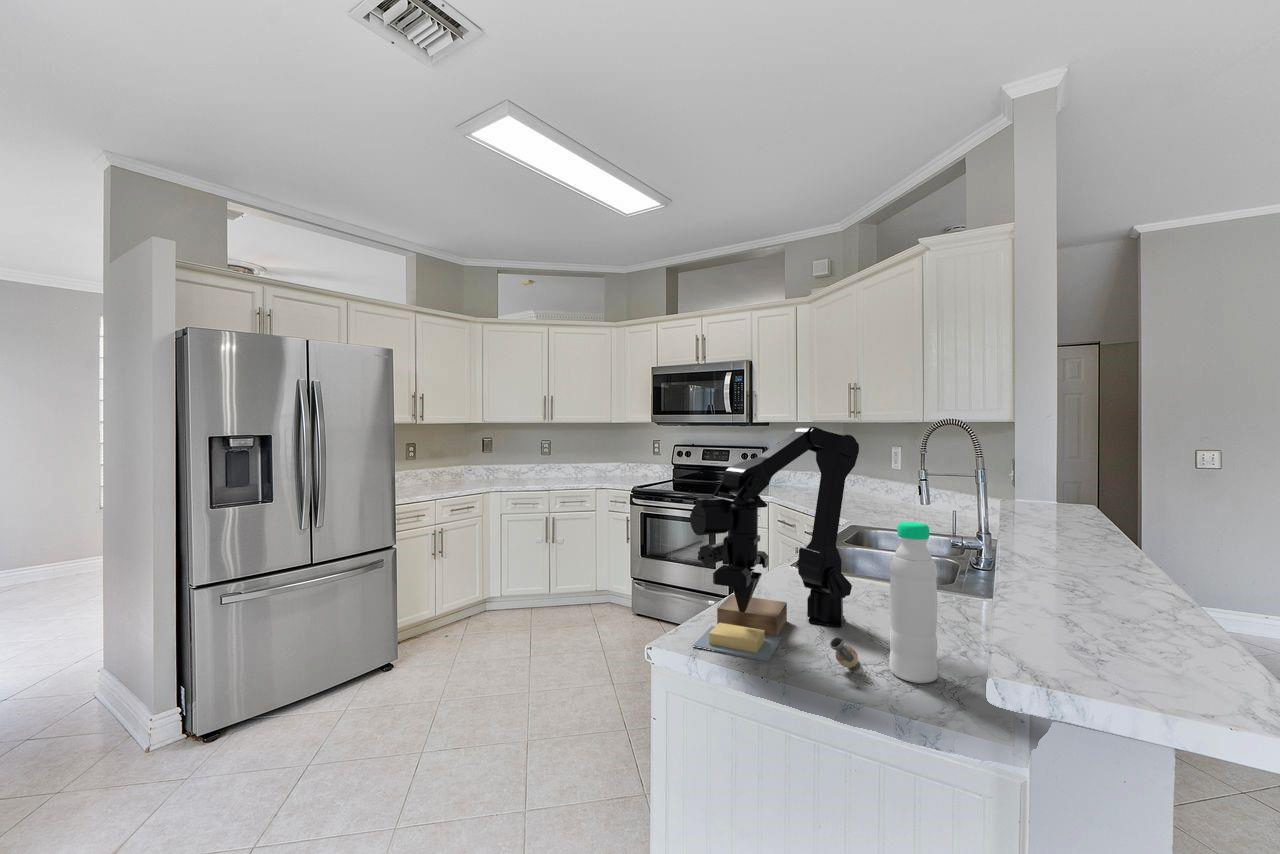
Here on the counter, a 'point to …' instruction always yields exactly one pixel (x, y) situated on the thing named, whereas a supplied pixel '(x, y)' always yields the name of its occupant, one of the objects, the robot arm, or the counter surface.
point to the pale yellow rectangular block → (737, 637)
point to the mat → (762, 654)
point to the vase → (847, 656)
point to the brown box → (754, 614)
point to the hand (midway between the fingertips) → (742, 611)
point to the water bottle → (913, 606)
